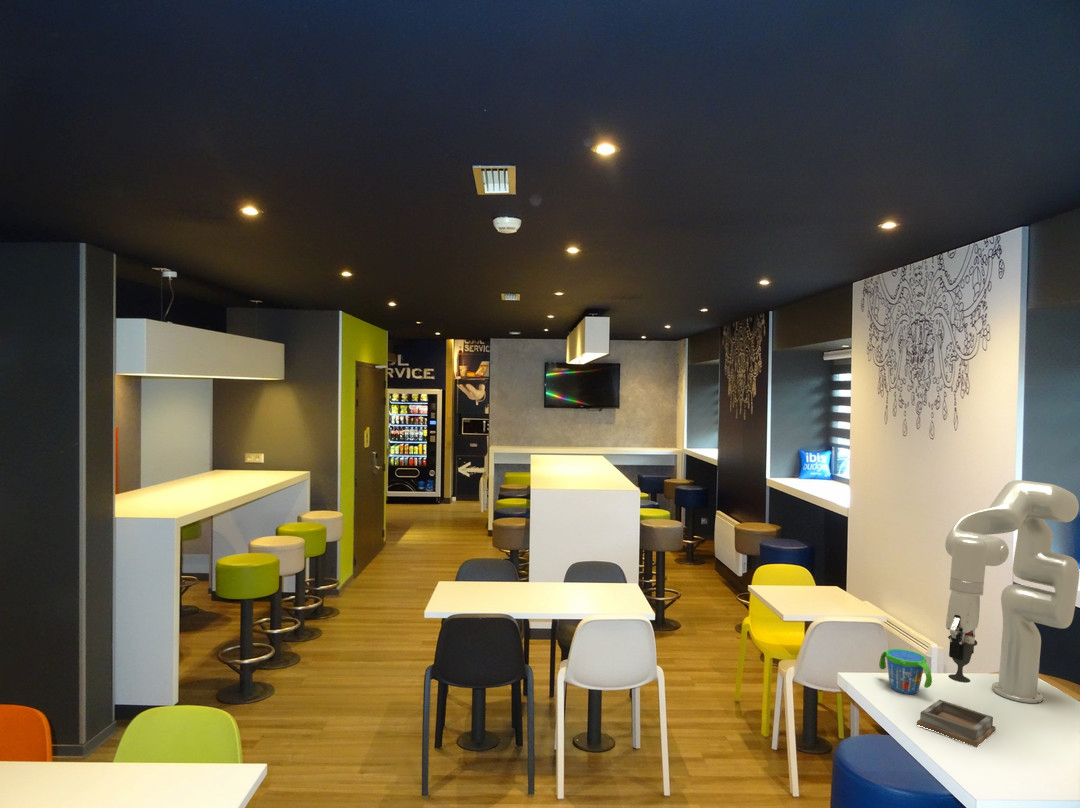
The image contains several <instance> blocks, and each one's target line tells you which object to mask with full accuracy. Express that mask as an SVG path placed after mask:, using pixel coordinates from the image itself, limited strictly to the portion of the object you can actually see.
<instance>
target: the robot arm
mask: <svg viewBox="0 0 1080 808" xmlns="http://www.w3.org/2000/svg"><path fill="white" fill-rule="evenodd" d="M1079 505H1080V504H1079V500H1078V498H1077V496H1076V495H1075V494H1074V493H1072V492H1071V491H1069V490H1068V489H1066V488H1064V487H1061V486H1058V485H1056V484H1052V483H1047V482H1046V483H1045V482H1040V481H1039V482H1036V481H1030V480H1023V479H1021V480H1019V479H1017V480H1012V481H1008V482H1007V483H1006V484H1005V485H1004V486H1003V488H1002V489H1001V490H1000V492H999V493H998V495H997V496H996V497H995V499H994V500H993V502H992V503H991V504H990V505H989V507H987V508H982V509H979V510H977V511H974V512H972V513H969V514H966V515H964V516H962V517H961V518H959V519H958V520H957V521H956V523H954V525H953V526H952V527H951V529H950V531H949V532H948V534H947V536H946V539H945V542H944V543H945V544H944V547H945V550H946V552H947V555H949V556H950V557H951V564H950V565H951V567H950V577H949V578H950V579H949V591H951V592H950V595H949V600H948V605H947V613H946V621H945V628H946V629H947V630H949V633H950V634H949V636H950V639H949V650H948V651H949V652H948V657H949V658H955V659H958V660H963V657H964V644H963V641H964V637H965V634H966V633H968V632H970V631H971V632H972V634H971V635H972V637H973V638H974V640H976V639H975V637H976V629H977V628H978V626H979V622H980V603H981V602H980V601H981V599H980V597H981V596H984V589H985V587H984V586H985V575H986V566H989V567H997V566H1000V565H1003V564H1004V563H1005V562H1006V561H1007V560H1008V557H1009V551H1010V550H1009V546H1008V543H1006V541H1005V540H1004V539H1002V538H999V537H996V536H992V535H1000V534H1008V533H1011V532H1015V531H1017V537H1016V542H1015V548H1014V554H1013V562H1012V572H1013V575H1014V577H1016V578H1018V579H1019V580H1023V581H1026V582H1029V583H1034V584H1037V585H1038V584H1039V585H1043V586H1048V587H1050V588H1051V587H1052V588H1054V591H1050V590H1045V589H1041V588H1038V587H1033V586H1029V585H1023V584H1017V583H1015V584H1009V585H1007V586H1005V587H1004V589H1002V591H1001V596H1000V604H1001V611H1002V612H1001V613H1002V631H1001V632H1002V633H1001V645H1000V656H999V657H1000V659H999V660H1000V661H999V669H998V670H999V671H998V672H999V673H998V681H996V682H994V683H992V684H991V690H992V691H993V692H994V693H996V694H997V695H999V696H1001V697H1004V698H1006V699H1009V700H1013V701H1015V702H1020V703H1027V704H1038V703H1037V702H1039V703H1041V701H1042V700H1043V701H1044V695H1043V693H1041V692H1040V691H1039V690H1038V688H1039V687H1038V686H1039V675H1040V674H1039V673H1040V672H1039V671H1040V663H1041V662H1040V660H1041V659H1040V657H1041V648H1042V636H1041V633H1040V630H1039V628H1038V627H1037V626H1036V624H1041V625H1044V626H1048V627H1051V628H1057V629H1067V628H1069V627H1070V626H1071V624H1072V622H1073V620H1074V615H1075V609H1076V603H1077V595H1078V589H1079V588H1078V587H1079V583H1080V565H1079V564H1078V561H1077V560H1076V559H1075V558H1074V557H1072V556H1071V555H1070V556H1069V555H1067V554H1062V553H1058V552H1052V543H1053V532H1052V530H1051V528H1050V527H1049V525H1048V523H1047V522H1046V520H1048V521H1049V520H1050V521H1054V522H1060V523H1069V522H1072V521H1074V519H1076V518H1077V516H1078V513H1079V510H1080V506H1079ZM1035 623H1036V624H1035ZM958 629H962V630H963V631H958ZM957 633H958V634H961V637H960V636H959V635H958V634H957ZM974 651H975V647H974V648H973V651H972V655H973V654H974V653H975V652H974ZM1043 701H1042V702H1043Z"/></svg>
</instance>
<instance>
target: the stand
mask: <svg viewBox="0 0 1080 808" xmlns="http://www.w3.org/2000/svg"><path fill="white" fill-rule="evenodd" d="M993 722H994V716H991V715H988V714H986V713H982V712H980V711H977V710H973V709H970V708H967V707H963V706H961V705H958V704H955V703H953V702H952V703H951V702H949V701H946V700H942V699H938V700H936V701H935V702H934V703H932V704H931V705H929V706H928V707H926V708H925V709H923V710H922V711H920V718H919V720H917V721H916V726H917V725H920V726H923V727H925V728H928V729H931V730H934V731H936V732H939V733H942V734H944V735H947V736H949V737H951V738H950V739H952V738H954V739H953V740H955V739H957V740H960V741H962V742H961V743H963V742H965V743H964V744H966V743H968V744H967V745H969V744H970V745H969V746H971V745H973V746H972V747H974V746H976V747H975V748H978V747H979V746H980V745H981V744H983V742H985V741H986V740H987V739H989V737H991V736H992V735H993V734H994V733H995V732H996V727H997V726H994V725H993V724H994V723H993ZM994 731H995V732H994ZM993 732H994V733H993ZM992 733H993V734H992ZM991 734H992V735H991ZM949 737H948V738H949ZM985 739H986V740H985ZM957 740H956V741H957ZM984 740H985V741H984ZM960 741H959V742H960ZM979 744H980V745H979ZM978 745H979V746H978ZM977 746H978V747H977Z"/></svg>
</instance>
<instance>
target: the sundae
mask: <svg viewBox="0 0 1080 808" xmlns="http://www.w3.org/2000/svg"><path fill="white" fill-rule="evenodd" d="M958 631H963V630H962V629H958ZM957 634H958V633H957ZM971 634H972V632H971V631H970V632H968V633H966V634H965V637H964V641H963V644H964V657H963V660H958V659H955V658H952V661H953V662H954V663H955V664H956V665H957V671H956V672H955V674H952V673H951V674H948V678H949V679H950V680H952V681H955V682H959V683H965V684H966V683H967V684H968V683H970V682H971V679H970V678H968V677H967V676H964V673H963V670H964V667H965V666H967V665H969V663H970V662H971V659H972V655H973V654H972V651H973V648H974V649H975V647H976V646H977V645H978V641H977V640H976V639H975V638H973V637H972V635H971ZM958 635H959V636H960V637H961V634H958ZM947 639H948V640H950V635H948V636H947ZM974 639H975V640H974Z"/></svg>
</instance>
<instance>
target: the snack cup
mask: <svg viewBox="0 0 1080 808" xmlns="http://www.w3.org/2000/svg"><path fill="white" fill-rule="evenodd" d="M886 661H887V664H886ZM878 663H879V664H878V665H879V669H880V670H885V669H886V668H887V672H888V673H887V674H888V683H889V686H890V689H893V690H894V691H895V692H899V693H901V694H908V695H913V694H914V695H915V694H917V693H918V692H919V689H920V685H921V681H922V679H923V678H922V677H923V673H925V682H924V684H923V686H924V688H926V689H928V688H930V687H932V683H933V679H932V678H933V677H932V672H931V668H930V666H929V665H928V664H927V658H926V656H925V655H923V654H921V653H919V652H916V651H912V650H907V649H904V648H903V649H902V648H891V649H887V650H884V651H883V652H882V653H881V655H880V659H879V662H878ZM886 666H887V667H886Z"/></svg>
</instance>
